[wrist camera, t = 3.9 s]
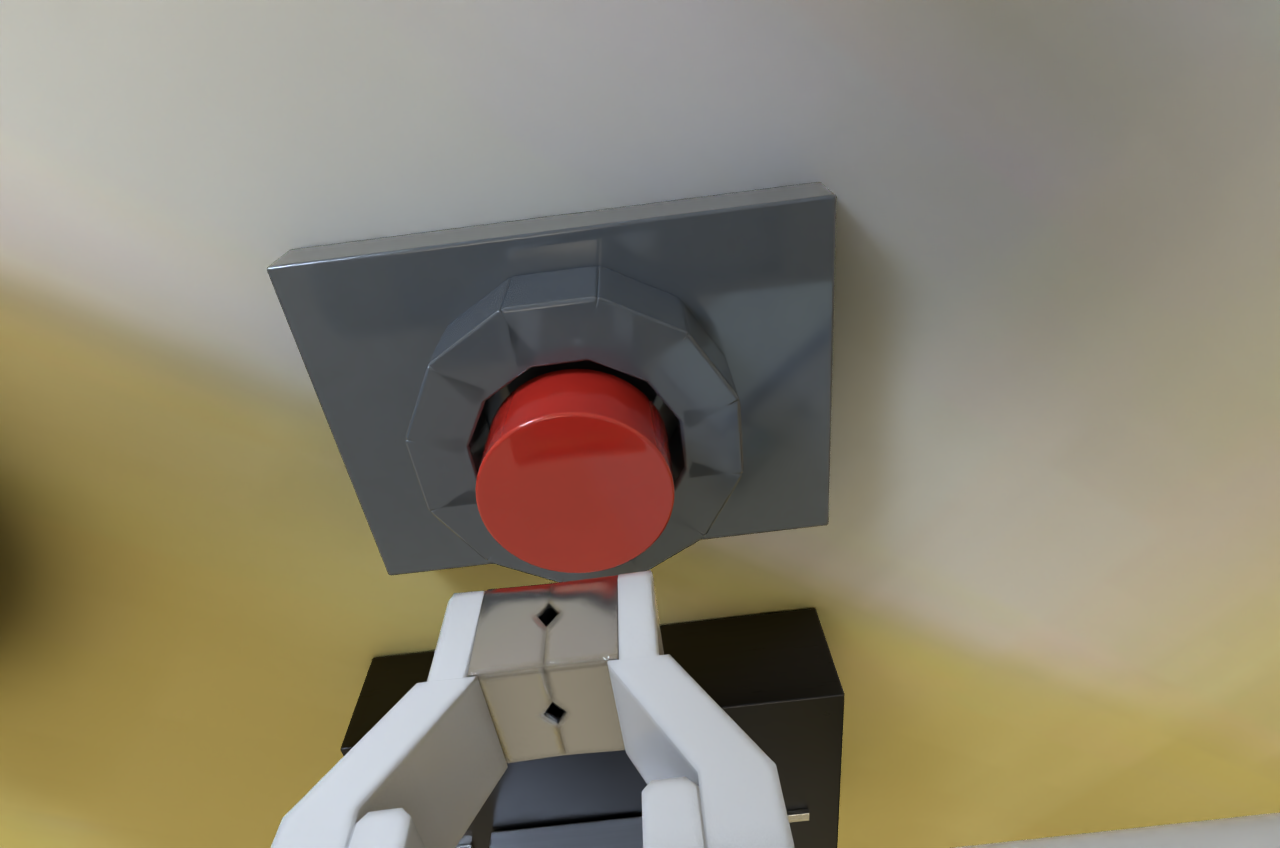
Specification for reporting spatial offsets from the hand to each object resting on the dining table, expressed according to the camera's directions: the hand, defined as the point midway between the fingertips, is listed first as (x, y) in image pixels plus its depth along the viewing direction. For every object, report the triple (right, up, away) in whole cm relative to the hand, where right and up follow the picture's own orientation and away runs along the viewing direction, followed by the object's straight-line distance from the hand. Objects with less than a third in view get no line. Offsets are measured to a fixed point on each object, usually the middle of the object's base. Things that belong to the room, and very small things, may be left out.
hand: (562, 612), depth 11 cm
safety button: (0, +2, +4) cm, 4 cm away
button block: (0, +4, +6) cm, 7 cm away
